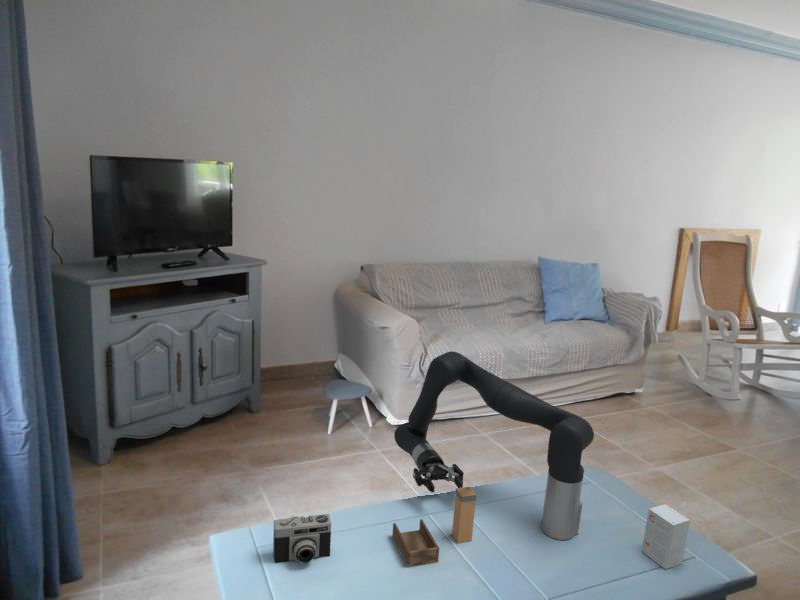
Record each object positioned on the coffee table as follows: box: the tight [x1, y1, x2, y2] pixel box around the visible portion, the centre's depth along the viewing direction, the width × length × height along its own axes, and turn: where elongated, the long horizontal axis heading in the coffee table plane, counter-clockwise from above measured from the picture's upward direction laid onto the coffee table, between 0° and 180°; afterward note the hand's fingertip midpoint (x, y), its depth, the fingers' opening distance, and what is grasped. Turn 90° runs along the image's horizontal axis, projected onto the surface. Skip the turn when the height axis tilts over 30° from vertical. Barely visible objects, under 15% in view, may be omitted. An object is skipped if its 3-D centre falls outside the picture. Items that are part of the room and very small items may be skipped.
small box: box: [641, 503, 691, 570], centre depth 158 cm, size 8×6×13 cm
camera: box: [272, 513, 332, 564], centre depth 150 cm, size 14×8×10 cm, turn 106°
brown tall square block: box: [451, 486, 478, 544], centre depth 161 cm, size 4×4×14 cm
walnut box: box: [392, 519, 440, 568], centre depth 157 cm, size 8×13×4 cm, turn 18°
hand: (447, 487), depth 172 cm, fingers open, 8 cm apart
